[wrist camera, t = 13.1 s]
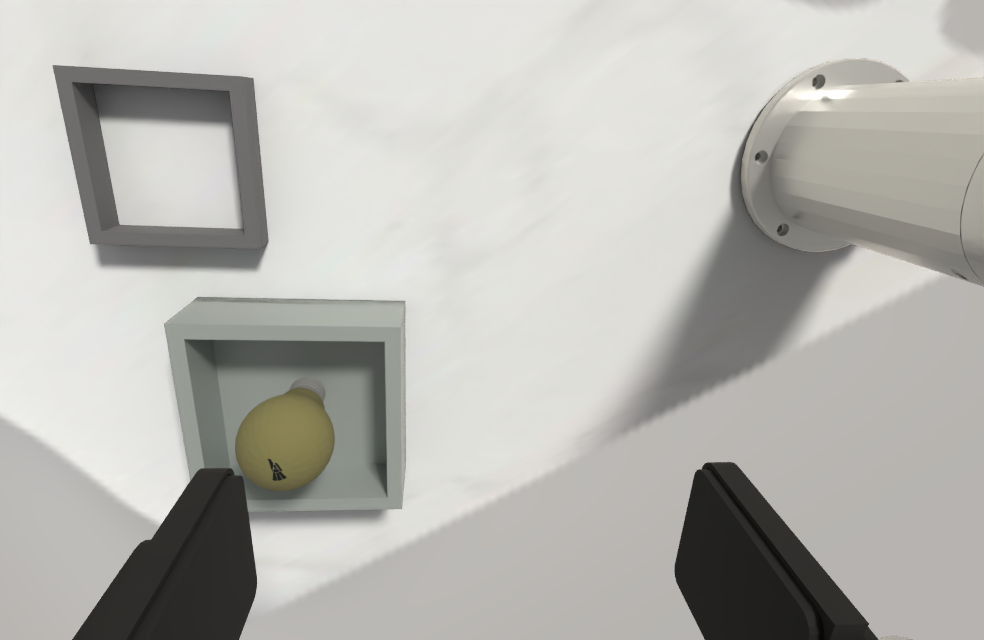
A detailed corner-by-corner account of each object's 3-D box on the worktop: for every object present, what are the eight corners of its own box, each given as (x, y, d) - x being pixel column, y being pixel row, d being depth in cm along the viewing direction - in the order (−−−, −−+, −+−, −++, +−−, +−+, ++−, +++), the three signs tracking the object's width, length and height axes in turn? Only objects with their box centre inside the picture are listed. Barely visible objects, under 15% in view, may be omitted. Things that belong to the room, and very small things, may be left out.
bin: (405, 301, 39) (400, 327, 34) (405, 466, 44) (402, 509, 39) (197, 297, 38) (164, 323, 33) (222, 468, 42) (196, 512, 38)
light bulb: (366, 392, 40) (346, 475, 31) (308, 434, 41) (272, 528, 32) (313, 337, 38) (274, 408, 29) (253, 382, 39) (197, 466, 30)
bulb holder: (253, 78, 33) (242, 76, 31) (268, 241, 37) (259, 248, 35) (74, 67, 32) (52, 65, 30) (108, 237, 36) (90, 244, 34)
